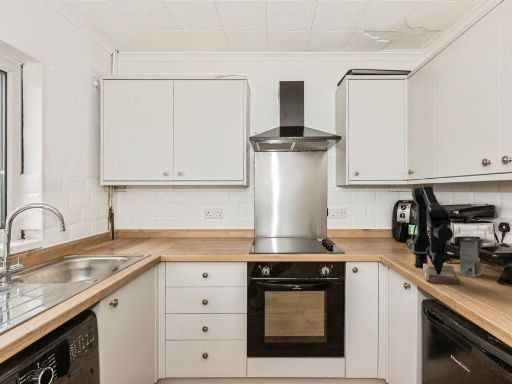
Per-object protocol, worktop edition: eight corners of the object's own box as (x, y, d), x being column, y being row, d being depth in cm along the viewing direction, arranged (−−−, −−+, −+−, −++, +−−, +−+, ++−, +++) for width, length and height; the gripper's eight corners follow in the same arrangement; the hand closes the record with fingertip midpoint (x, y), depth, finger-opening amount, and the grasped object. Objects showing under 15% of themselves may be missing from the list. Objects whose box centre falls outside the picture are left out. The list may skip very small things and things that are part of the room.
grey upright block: (468, 271, 160) (467, 237, 160) (483, 274, 155) (483, 239, 155) (459, 274, 155) (459, 239, 155) (475, 277, 150) (474, 241, 149)
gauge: (423, 276, 152) (423, 263, 152) (451, 277, 149) (451, 264, 148) (426, 280, 145) (425, 266, 145) (455, 281, 142) (455, 268, 142)
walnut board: (424, 273, 159) (424, 268, 159) (450, 274, 155) (450, 270, 155) (430, 282, 143) (430, 277, 143) (460, 284, 140) (460, 279, 140)
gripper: (464, 241, 135) (465, 280, 136) (453, 234, 153) (453, 269, 153) (433, 240, 139) (434, 278, 139) (425, 234, 157) (426, 268, 157)
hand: (437, 273), depth 147 cm, fingers closed on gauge, 3 cm apart
